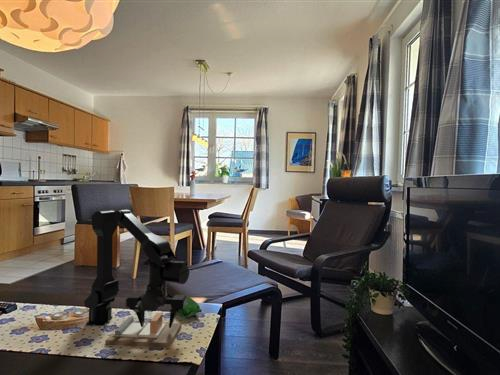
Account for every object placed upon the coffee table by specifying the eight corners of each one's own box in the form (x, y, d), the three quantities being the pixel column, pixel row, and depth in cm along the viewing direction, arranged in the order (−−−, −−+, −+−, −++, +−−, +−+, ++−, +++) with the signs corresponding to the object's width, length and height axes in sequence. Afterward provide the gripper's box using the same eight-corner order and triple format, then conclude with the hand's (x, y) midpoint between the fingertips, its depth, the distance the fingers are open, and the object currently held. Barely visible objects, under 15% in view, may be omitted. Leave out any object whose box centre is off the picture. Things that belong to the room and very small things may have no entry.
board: (105, 344, 91) (105, 340, 91) (124, 325, 104) (124, 321, 104) (169, 347, 91) (169, 343, 91) (181, 327, 104) (181, 323, 104)
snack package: (184, 323, 108) (185, 308, 108) (169, 308, 121) (169, 295, 121) (202, 319, 112) (203, 305, 112) (185, 304, 125) (186, 292, 125)
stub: (138, 337, 94) (139, 321, 94) (148, 325, 102) (148, 311, 102) (157, 337, 93) (157, 322, 93) (165, 326, 101) (165, 311, 101)
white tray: (111, 337, 93) (111, 330, 93) (125, 323, 103) (125, 316, 103) (136, 338, 93) (136, 331, 93) (148, 324, 103) (148, 317, 103)
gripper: (117, 286, 90) (116, 338, 90) (179, 288, 89) (177, 341, 89) (133, 275, 101) (132, 321, 101) (188, 277, 100) (186, 324, 100)
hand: (156, 327), depth 98 cm, fingers open, 9 cm apart
